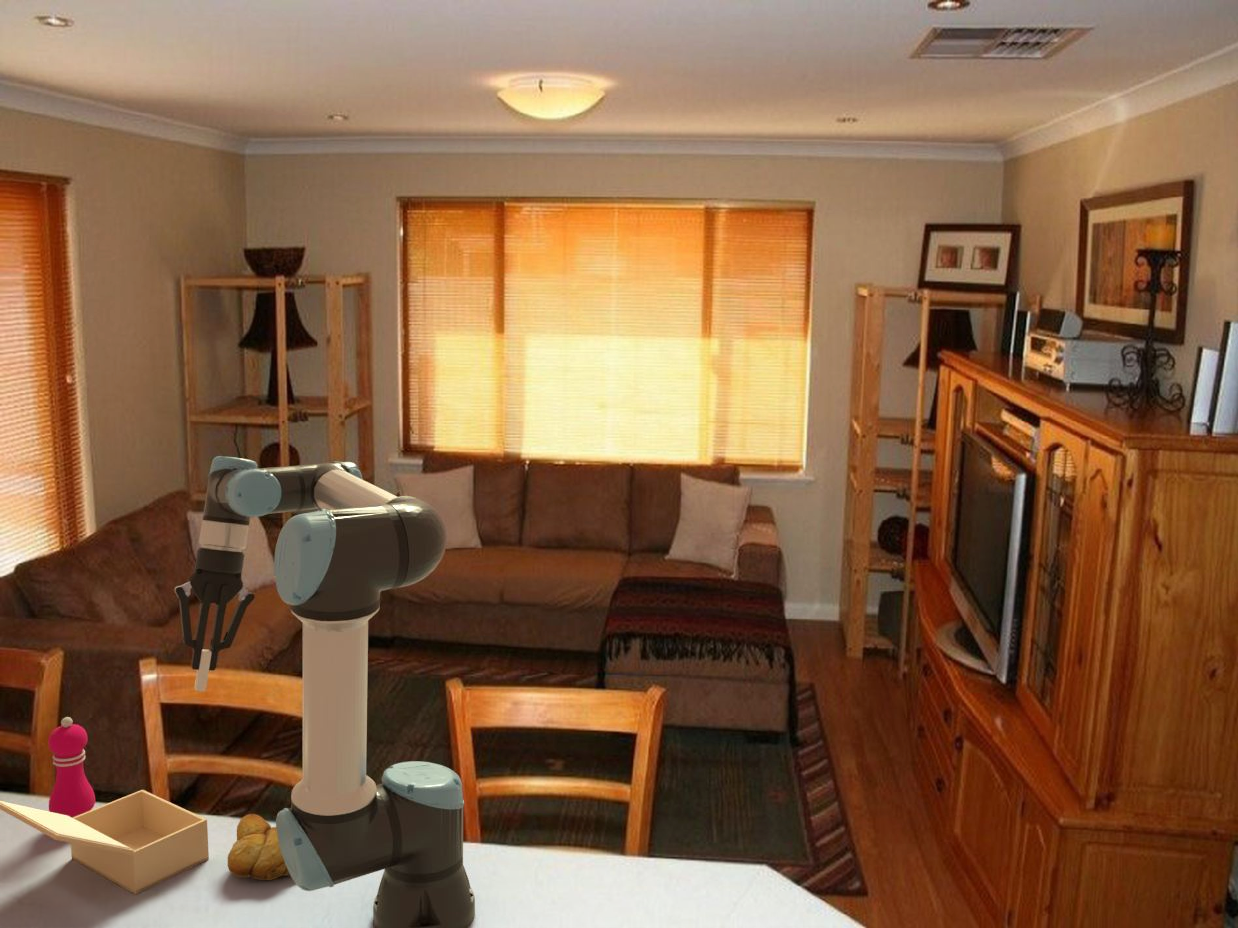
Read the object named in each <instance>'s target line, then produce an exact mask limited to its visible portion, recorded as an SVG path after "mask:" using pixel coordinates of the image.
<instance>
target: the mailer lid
mask: <svg viewBox="0 0 1238 928" xmlns="http://www.w3.org/2000/svg"><path fill="white" fill-rule="evenodd" d="M0 811H2V812H4V813H6V814H8V815H10V816H11V817H13V818H15V819H17V820H18V821H20V822H23V823H24V824H26V825H28V826H29V827H31V828H33V829H36V830H37V831H39V832H41V833H42V834H44V835H46V836H48V837H50V838H51V839H54V840H56V841H59V842H65V843H70V844H71V843H75V844H80V845H85V846H90V847H95V848H101V849H106V850H111V851H116V852H121V853H126V854H131V855H133V853H134V850H132V849H130V848H129V847H127V846H125V845H123V844H121V843H119V842H117V841H115V840H114V839H112V838H110V837H108V836H106V835H104V834H102V833H100V832H98V831H96V830H94V829H92V828H91V827H89V826H87V825H85V824H83V823H81V822H79V821H77V820H75V819H73V818H71V817H69V816H67V815H62V814H58V813H53V812H50V811H49V810H45V809H44V810H43V809H39V808H34V807H31V806H30V807H29V806H25V805H21V804H16V803H12V802H7V801H2V800H0Z"/></svg>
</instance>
